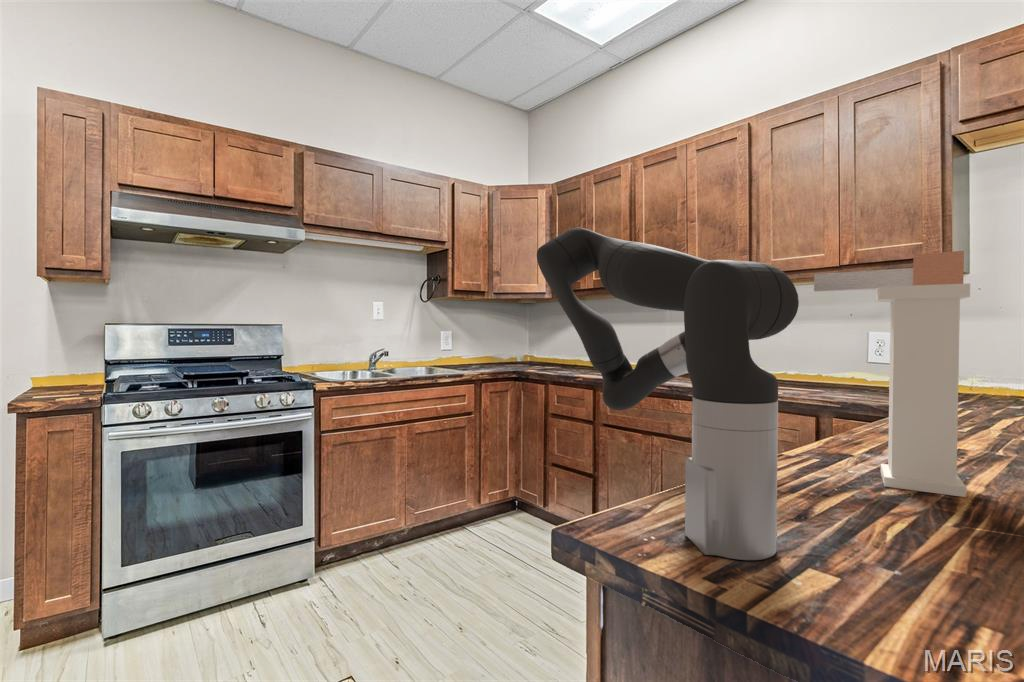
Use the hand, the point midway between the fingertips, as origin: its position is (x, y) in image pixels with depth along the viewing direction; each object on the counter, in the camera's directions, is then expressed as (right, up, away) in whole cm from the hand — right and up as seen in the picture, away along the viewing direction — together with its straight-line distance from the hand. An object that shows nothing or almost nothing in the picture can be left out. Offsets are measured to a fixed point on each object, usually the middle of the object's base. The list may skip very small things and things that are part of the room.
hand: (766, 309), depth 96 cm
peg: (+15, +3, -9) cm, 18 cm away
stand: (+19, -29, -11) cm, 37 cm away
